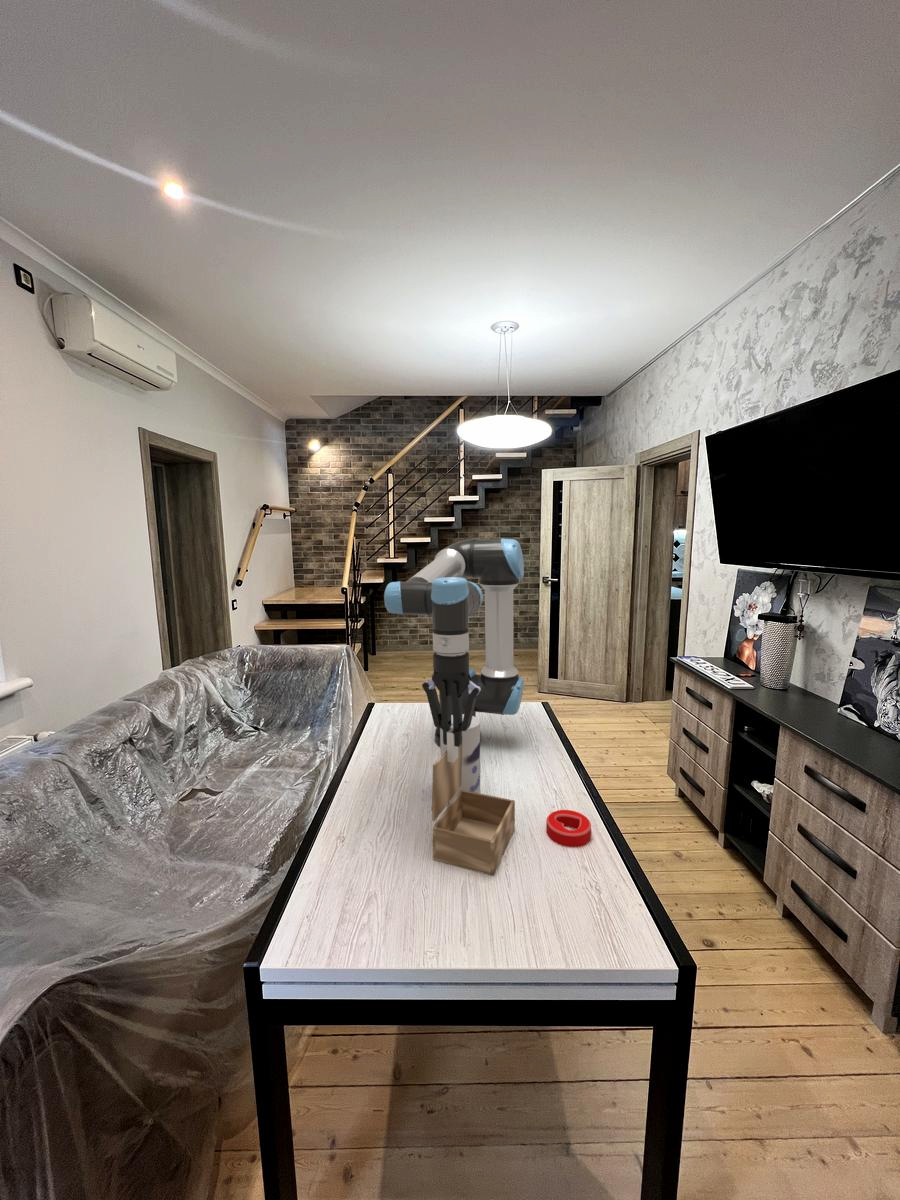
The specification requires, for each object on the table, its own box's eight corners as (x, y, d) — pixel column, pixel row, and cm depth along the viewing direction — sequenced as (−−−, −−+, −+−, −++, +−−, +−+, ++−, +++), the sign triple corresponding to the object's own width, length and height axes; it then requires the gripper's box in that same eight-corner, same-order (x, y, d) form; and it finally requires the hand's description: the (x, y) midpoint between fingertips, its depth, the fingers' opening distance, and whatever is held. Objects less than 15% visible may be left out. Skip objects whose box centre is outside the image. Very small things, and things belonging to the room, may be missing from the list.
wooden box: (461, 817, 114) (460, 789, 113) (514, 829, 109) (514, 800, 108) (432, 859, 99) (432, 828, 98) (493, 875, 94) (493, 842, 93)
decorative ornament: (598, 833, 108) (599, 820, 107) (576, 854, 101) (577, 840, 100) (561, 816, 114) (561, 804, 114) (537, 834, 107) (538, 821, 107)
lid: (461, 785, 113) (458, 784, 113) (462, 735, 111) (460, 735, 111) (434, 821, 98) (431, 821, 99) (435, 765, 97) (432, 765, 97)
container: (477, 808, 118) (476, 730, 115) (437, 804, 120) (435, 727, 117) (482, 787, 127) (482, 714, 125) (445, 784, 129) (444, 712, 127)
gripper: (414, 653, 100) (417, 762, 103) (474, 658, 95) (475, 772, 98) (429, 645, 106) (432, 747, 110) (486, 650, 102) (487, 756, 105)
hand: (452, 759), depth 104 cm, fingers closed
